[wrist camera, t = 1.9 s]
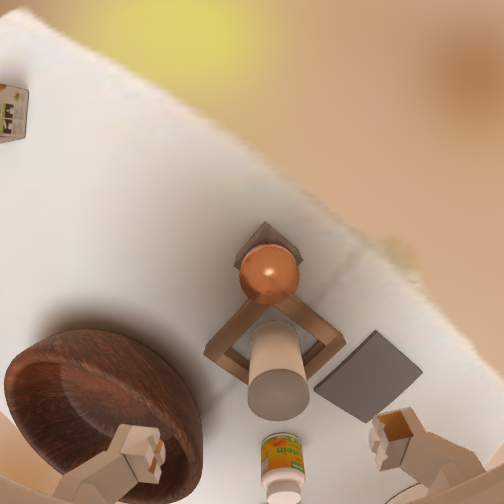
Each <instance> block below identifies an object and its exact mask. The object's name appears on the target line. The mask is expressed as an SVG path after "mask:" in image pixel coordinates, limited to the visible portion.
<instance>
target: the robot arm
mask: <svg viewBox="0 0 504 504" xmlns="http://www.w3.org/2000/svg"><path fill="white" fill-rule="evenodd" d="M372 423H373V427H372V428H371V429H370V433H369V443H370V447H371V450H372V452H374V453H376V457H375V461H376V464H377V466H378V469H379V471H383V470H388V469H392V468H396V467H400V468H401V469H402V470H403V471H405V472H406V473H407V474H409V475H410V476H412V477H413V478H414V479H416V480H417V481H418V482H420V483H421V484H418V485H416V486H413V487H411V488H409V489H407V490H405V491H404V492H402V493H400V494H399V495H397V496H395V497H394V498H393V499H391V500H390V501H389V502H388V503H387V504H504V463H502V464H500V465H498V466H496V467H495V468H493V469H491V470H489V471H487V472H486V471H485V469H484V468H483V466H482V465H481V463H480V461H479V460H478V458H477V457H476V455H475V454H474V452H472V451H469V450H467V449H465V448H463V447H461V446H458V445H456V444H454V443H452V442H450V441H448V440H446V439H443V438H441V437H439V436H437V435H435V434H433V433H431V432H428V433H426V431H425V429H424V428H423V426H422V424H421V422H420V421H419V419H418V417H417V416H416V414H415V413H414V411H413V409H412V408H411V407H408V408H403V409H399V410H395V411H391V412H386V413H381V414H377V415H374V417H373V420H372ZM159 438H160V432H159V430H158V429H157V428H152V427H143V426H134V425H125V424H121V425H120V426H119V427H118V429H117V431H116V433H115V435H114V437H113V440H112V442H111V444H110V446H109V448H108V450H107V451H103V452H101V453H100V454H98V455H96V456H95V457H93V458H91V459H90V460H88V461H86V462H85V463H83V464H81V465H80V466H78V467H76V468H75V469H73V470H71V471H70V472H68V473H66V474H64V475H63V476H62V478H61V480H60V481H59V483H58V485H57V487H56V489H55V491H54V493H53V495H52V496H50V495H47V494H45V493H42V492H40V491H37V490H34V489H32V488H30V487H27V486H25V485H22V484H20V483H18V482H15V481H13V480H11V479H9V478H6V477H5V476H2V475H0V504H115V503H116V502H117V501H118V500H119V499H120V498H122V497H123V496H124V495H125V494H126V493H127V492H128V491H129V490H131V489H132V488H133V487H134V486H135V485H136V484H137V483H138V482H145V483H154V484H158V483H159V479H160V476H161V472H162V471H161V469H160V466H161V465H162V464H164V461H165V446H164V443H163V441H161V440H160V439H159Z"/></svg>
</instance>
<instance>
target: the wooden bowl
mask: <svg viewBox="0 0 504 504" xmlns="http://www.w3.org/2000/svg"><path fill="white" fill-rule="evenodd" d="M4 391H5V397H6V401H7V405H8V408H9V411H10V413H11V415H12V418H13V420H14V422H15V424H16V425H17V427H18V429H19V430H20V432H21V434H22V435H23V436H24V438H25V439H26V441H27V442H28V443H29V444H30V446H31V447H32V448H33V449H34V450H35V451H36V452H37V453H38V454H39V455H40V456H41V457H42V458H43V459H44V460H45V461H46V462H47V463H48V464H49V465H50V466H52V467H53V468H54V469H55V470H57V471H58V472H59V473H61V474H62V475H64V474H66V473H68V472H70V471H71V470H73V469H75V468H76V467H78V466H80V465H81V464H83V463H85V462H86V461H88V460H90V459H91V458H93V457H95V456H96V455H98V454H100V453H101V452H103V451H107V450H108V448H109V446H110V444H111V442H112V440H113V437H114V435H115V433H116V431H117V429H118V427H119V426H120V425H121V424H125V425H134V426H143V427H152V428H157V429H158V430H159V432H160V438H159V439H160V440H161V441H163V443H164V446H165V461H164V464H162V465H161V466H160V469H161V471H162V472H161V476H160V479H159V483H158V484H154V483H145V482H138V483H137V484H136V485H135V486H134V487H133V488H132V489H131V490H129V491H128V492H127V493H126V494H125V495H124V496H123V497H122V498H120V499H119V500H118V501H119V502H123V503H128V504H169V503H173V502H176V501H179V500H181V499H183V498H185V497H187V496H188V495H189V494H190V493H192V492H193V490H194V489H195V488H196V486H197V485H198V483H199V481H200V478H201V475H202V468H203V434H202V426H201V421H200V417H199V413H198V410H197V407H196V404H195V402H194V400H193V398H192V395H191V393H190V392H189V390H188V388H187V386H186V385H185V383H184V382H183V381H182V379H181V378H180V377H179V375H178V374H177V373H176V372H175V370H174V369H173V368H172V367H171V366H170V365H169V364H168V363H167V362H166V361H165V360H164V359H162V358H161V357H160V356H159V355H157V354H156V353H155V352H153V351H152V350H151V349H149V348H147V347H146V346H144V345H143V344H141V343H139V342H137V341H135V340H133V339H131V338H128V337H126V336H123V335H120V334H117V333H113V332H109V331H104V330H97V329H77V330H70V331H66V332H62V333H58V334H56V335H53V336H51V337H48V338H46V339H44V340H42V341H40V342H38V343H36V344H34V345H33V346H31V347H29V348H27V349H26V350H24V351H23V352H21V353H20V354H19V355H17V356H16V357H15V358H14V359H13V360H12V362H11V363H10V365H9V367H8V369H7V371H6V374H5V380H4Z"/></svg>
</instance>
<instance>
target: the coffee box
mask: <svg viewBox="0 0 504 504" xmlns="http://www.w3.org/2000/svg"><path fill="white" fill-rule="evenodd" d="M28 94H29V93H28V91H27V90H23V89H20V88H16V87H12V86H8V85H4V84H0V143H4V142H9V141H13V140H18V139H22V138H24V137H25V126H26V113H27V103H28Z"/></svg>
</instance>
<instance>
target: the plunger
mask: <svg viewBox="0 0 504 504" xmlns="http://www.w3.org/2000/svg"><path fill="white" fill-rule="evenodd" d="M298 283H299V269H298V266H297V264H296V261H295V259H294V257H293V256H292V254H291V253H290V252H289V251H288V250H287V249H285V248H284V247H282V246H279V245H276V244H263V245H259V246H257V247H255V248H253V249H252V250H251V251H249V252H248V253H247V255H246V256H245V258H244V259H243V262H242V265H241V270H240V284H241V287H242V289H243V291H244V293H245V294H246V295H247V296H248V297H249V298H250V299H251V300H253V301H255V302H257V303H259V304H263V305H276V304H279V303H282V302H284V301H286V300H287V299H288V298H290V297H291V296H292V295H293V293H294V292H295V291H296V289H297V287H298Z"/></svg>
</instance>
